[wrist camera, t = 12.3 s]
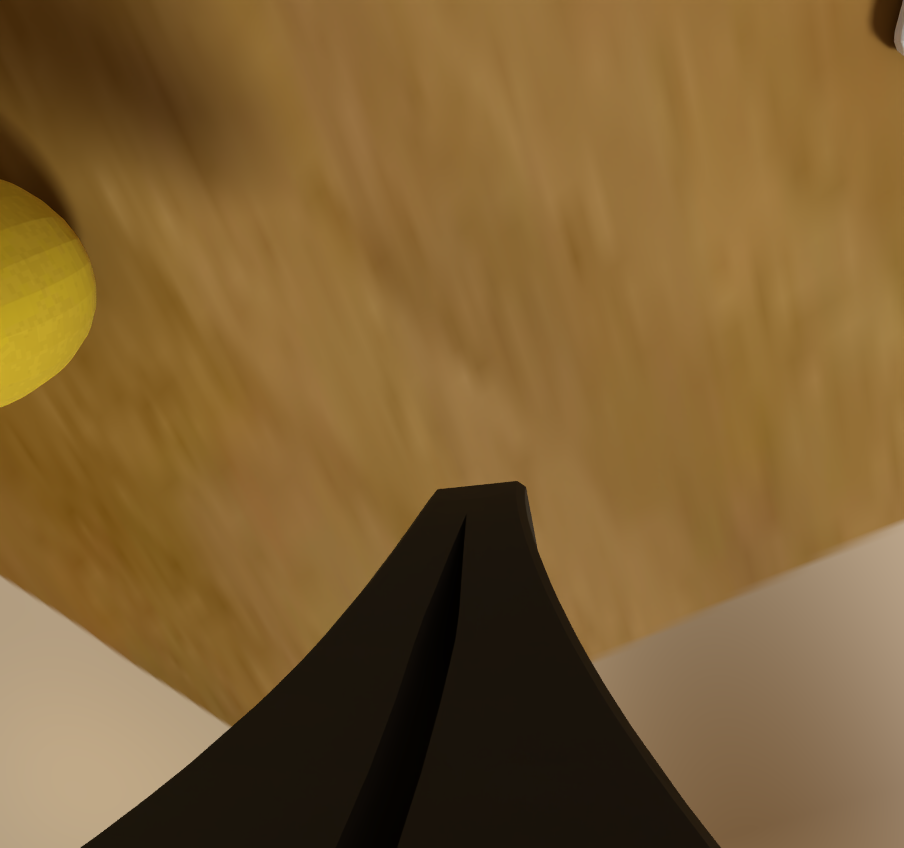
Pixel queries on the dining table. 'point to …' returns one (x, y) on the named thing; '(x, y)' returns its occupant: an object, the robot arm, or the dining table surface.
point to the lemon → (39, 293)
